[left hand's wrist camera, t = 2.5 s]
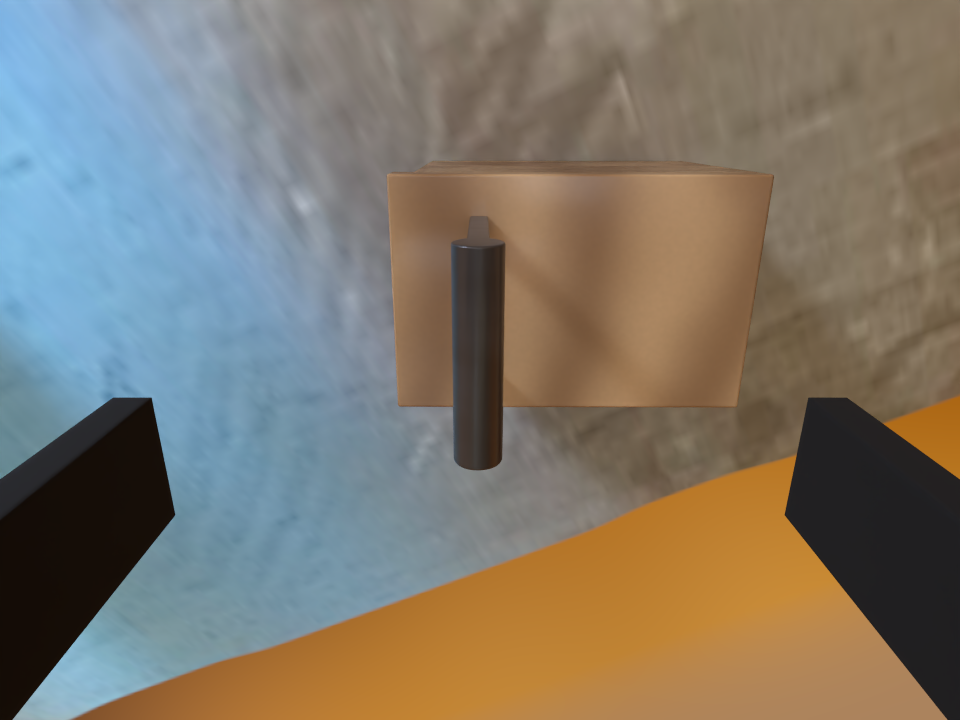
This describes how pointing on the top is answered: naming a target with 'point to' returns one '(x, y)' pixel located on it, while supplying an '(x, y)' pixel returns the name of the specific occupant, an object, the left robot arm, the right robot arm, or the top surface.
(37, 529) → the left robot arm
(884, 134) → the top surface
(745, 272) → the lid
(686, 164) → the chest
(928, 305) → the top surface
